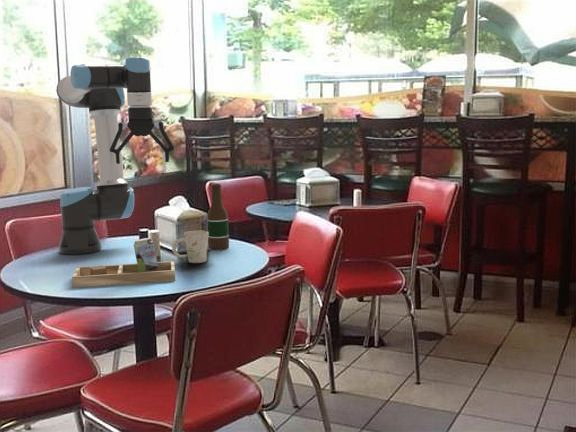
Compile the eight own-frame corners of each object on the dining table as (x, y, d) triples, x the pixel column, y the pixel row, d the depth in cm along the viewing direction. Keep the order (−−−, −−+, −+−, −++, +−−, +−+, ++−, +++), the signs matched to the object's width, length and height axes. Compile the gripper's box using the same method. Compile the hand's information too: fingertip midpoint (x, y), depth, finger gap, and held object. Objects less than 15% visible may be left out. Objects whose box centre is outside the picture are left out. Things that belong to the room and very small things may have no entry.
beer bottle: (208, 246, 268) (205, 183, 264) (228, 245, 269) (226, 182, 265) (208, 250, 260) (205, 185, 256) (229, 249, 261) (227, 184, 257)
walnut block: (90, 279, 218) (89, 267, 217) (103, 277, 220) (102, 265, 219) (94, 282, 215) (93, 269, 214) (107, 280, 217) (106, 267, 216)
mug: (211, 262, 241) (210, 233, 239) (174, 266, 238) (173, 236, 236) (207, 257, 249) (206, 229, 247) (171, 260, 245) (169, 232, 244)
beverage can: (154, 279, 216) (152, 240, 214) (132, 278, 217) (129, 240, 215) (162, 274, 222) (160, 236, 220) (140, 273, 224) (138, 236, 222)
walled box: (78, 279, 223) (77, 267, 222) (174, 273, 228) (173, 261, 227) (73, 290, 210) (72, 277, 209) (175, 283, 215) (174, 270, 214)
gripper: (98, 107, 220) (102, 176, 223) (179, 106, 224) (182, 173, 227) (100, 107, 227) (104, 173, 231) (179, 105, 231) (182, 170, 235)
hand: (143, 173), depth 229 cm, fingers open, 13 cm apart
